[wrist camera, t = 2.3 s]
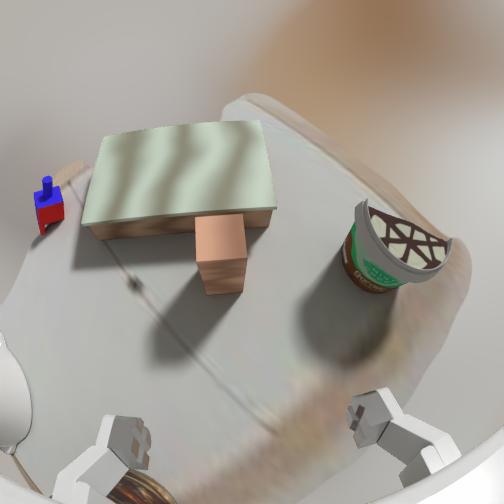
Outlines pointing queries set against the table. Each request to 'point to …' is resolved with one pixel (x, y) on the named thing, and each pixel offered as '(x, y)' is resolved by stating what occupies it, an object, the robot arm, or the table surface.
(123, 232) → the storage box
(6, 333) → the table surface
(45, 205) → the toy building block
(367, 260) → the food container
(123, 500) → the jar
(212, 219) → the tall block
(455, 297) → the table surface
